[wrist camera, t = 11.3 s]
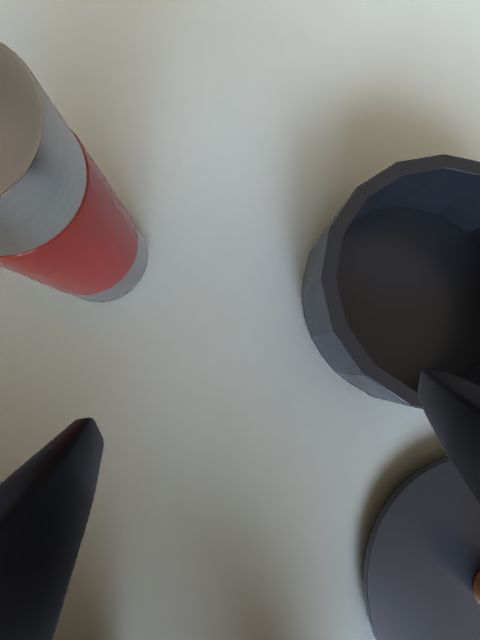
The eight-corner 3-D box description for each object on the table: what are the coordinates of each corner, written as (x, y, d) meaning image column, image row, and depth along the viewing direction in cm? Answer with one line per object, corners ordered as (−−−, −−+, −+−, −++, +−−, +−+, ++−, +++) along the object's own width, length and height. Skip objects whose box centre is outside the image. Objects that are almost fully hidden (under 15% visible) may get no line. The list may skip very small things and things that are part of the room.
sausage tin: (136, 311, 21) (10, 244, 9) (42, 292, 21) (-216, 197, 9) (158, 222, 22) (69, 47, 10) (67, 203, 22) (-137, 3, 10)
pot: (492, 421, 21) (572, 439, 16) (284, 378, 21) (301, 384, 16) (512, 222, 23) (591, 184, 18) (320, 181, 23) (346, 132, 18)
